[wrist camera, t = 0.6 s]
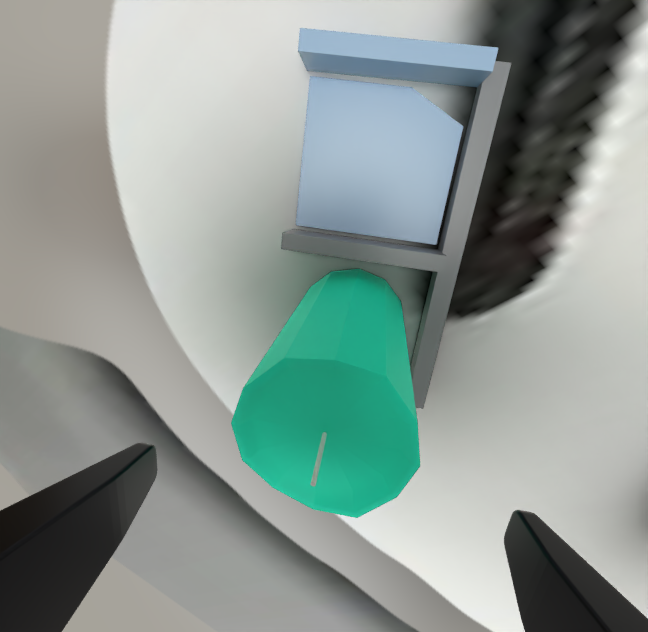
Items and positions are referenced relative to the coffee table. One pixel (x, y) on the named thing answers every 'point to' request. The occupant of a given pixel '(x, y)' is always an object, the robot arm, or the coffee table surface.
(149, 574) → the coffee table surface
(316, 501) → the candle
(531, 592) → the robot arm
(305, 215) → the grey framed panel
